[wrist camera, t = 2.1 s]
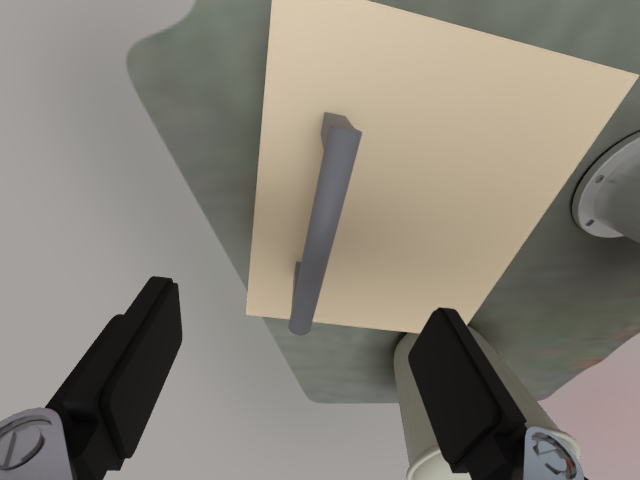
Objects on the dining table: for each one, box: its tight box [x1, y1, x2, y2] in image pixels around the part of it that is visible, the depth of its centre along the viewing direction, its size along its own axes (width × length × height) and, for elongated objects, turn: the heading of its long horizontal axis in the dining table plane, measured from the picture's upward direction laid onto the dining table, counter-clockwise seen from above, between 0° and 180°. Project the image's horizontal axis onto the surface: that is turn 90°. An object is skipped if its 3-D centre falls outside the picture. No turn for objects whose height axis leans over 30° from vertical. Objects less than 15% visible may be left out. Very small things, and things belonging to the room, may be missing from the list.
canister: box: [394, 326, 581, 480], centre depth 35 cm, size 18×18×21 cm
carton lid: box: [246, 0, 639, 335], centre depth 17 cm, size 20×22×6 cm
